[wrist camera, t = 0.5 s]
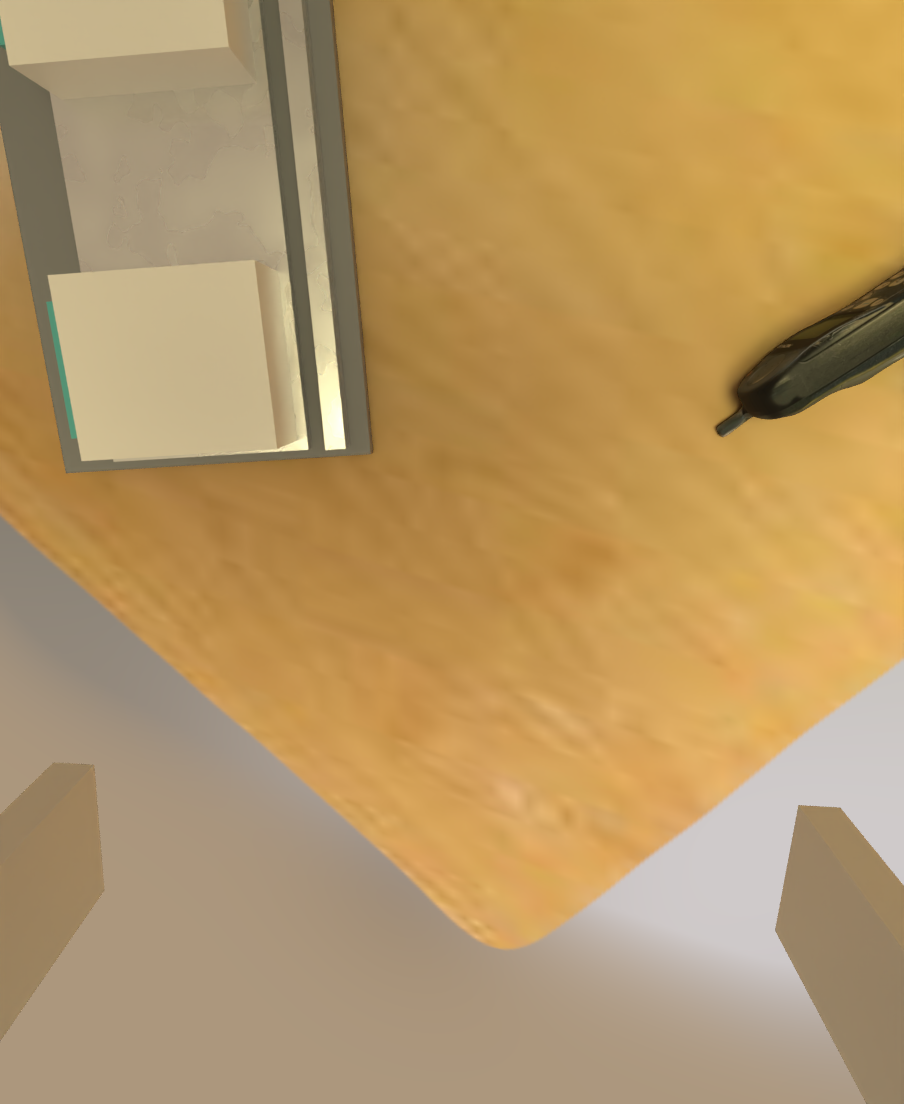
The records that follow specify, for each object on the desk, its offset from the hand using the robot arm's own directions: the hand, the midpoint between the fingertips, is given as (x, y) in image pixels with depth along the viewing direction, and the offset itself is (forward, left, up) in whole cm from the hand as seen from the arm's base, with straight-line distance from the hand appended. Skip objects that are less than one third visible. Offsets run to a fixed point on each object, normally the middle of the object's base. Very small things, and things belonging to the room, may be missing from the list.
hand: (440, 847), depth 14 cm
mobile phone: (-9, +20, -28) cm, 35 cm away
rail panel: (-18, -12, -27) cm, 35 cm away
